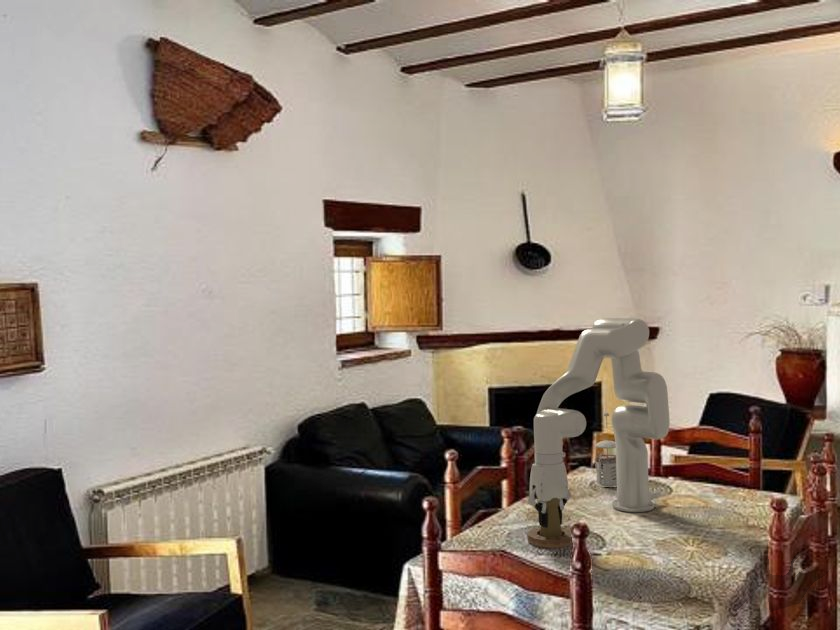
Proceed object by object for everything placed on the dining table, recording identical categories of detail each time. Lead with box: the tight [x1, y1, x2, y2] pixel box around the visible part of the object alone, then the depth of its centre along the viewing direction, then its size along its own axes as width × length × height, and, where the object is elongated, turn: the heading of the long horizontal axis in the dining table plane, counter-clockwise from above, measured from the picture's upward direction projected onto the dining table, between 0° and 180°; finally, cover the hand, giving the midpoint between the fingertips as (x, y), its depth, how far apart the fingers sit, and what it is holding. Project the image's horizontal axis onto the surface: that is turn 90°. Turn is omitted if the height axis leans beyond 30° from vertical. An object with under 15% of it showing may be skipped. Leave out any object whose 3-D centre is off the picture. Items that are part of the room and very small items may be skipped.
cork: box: [540, 498, 562, 537], centre depth 224 cm, size 6×6×11 cm
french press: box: [594, 412, 617, 487], centre depth 282 cm, size 10×12×25 cm
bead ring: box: [526, 526, 573, 549], centre depth 225 cm, size 13×13×2 cm
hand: (550, 524), depth 225 cm, fingers closed on cork, 4 cm apart
